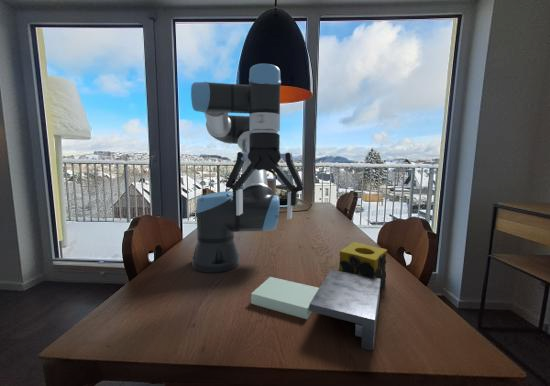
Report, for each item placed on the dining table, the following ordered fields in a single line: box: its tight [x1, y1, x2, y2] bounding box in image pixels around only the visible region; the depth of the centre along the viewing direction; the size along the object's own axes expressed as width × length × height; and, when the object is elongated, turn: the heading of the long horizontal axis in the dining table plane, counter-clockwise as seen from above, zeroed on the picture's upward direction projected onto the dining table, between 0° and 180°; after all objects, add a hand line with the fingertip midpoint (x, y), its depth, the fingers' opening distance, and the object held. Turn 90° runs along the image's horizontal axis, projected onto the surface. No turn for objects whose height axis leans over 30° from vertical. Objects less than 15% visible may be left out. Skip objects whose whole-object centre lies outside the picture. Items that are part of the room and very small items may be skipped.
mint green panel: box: [250, 276, 320, 320], centre depth 63 cm, size 14×10×3 cm
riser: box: [309, 269, 381, 352], centre depth 57 cm, size 12×18×6 cm, turn 155°
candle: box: [338, 241, 388, 289], centre depth 72 cm, size 10×10×10 cm
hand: (264, 216), depth 68 cm, fingers open, 13 cm apart
